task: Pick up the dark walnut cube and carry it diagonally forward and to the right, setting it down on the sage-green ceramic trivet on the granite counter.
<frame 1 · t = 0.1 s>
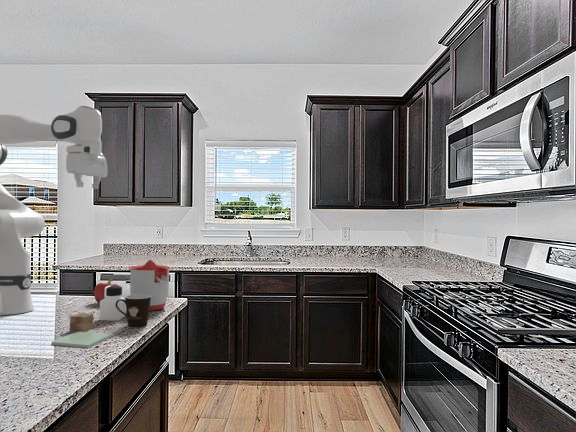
hand: (87, 187, 168), 48 cm above the worktop, tool pointing down, fingers open, 8 cm apart
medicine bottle: (112, 318, 166), on the worktop
citrus juicer: (150, 309, 184), on the worktop
vegetable: (107, 303, 193), on the worktop
trivet: (82, 340, 138), on the worktop
walnut cube: (81, 330, 150), on the worktop
coffee mug: (134, 325, 158), on the worktop
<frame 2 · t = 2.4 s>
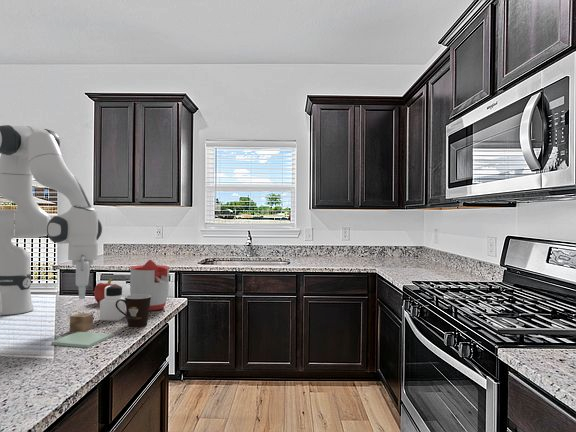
hand: (82, 296, 149), 11 cm above the worktop, tool pointing down, fingers open, 8 cm apart
nothing on the worktop moved.
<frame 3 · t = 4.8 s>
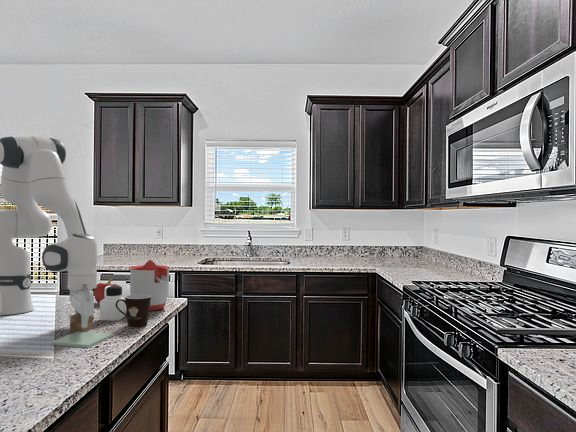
hand: (81, 324, 150), 2 cm above the worktop, tool pointing down, fingers closed on walnut cube, 7 cm apart
walnut cube: (81, 329, 150), on the worktop, touching gripper
everything else where it was.
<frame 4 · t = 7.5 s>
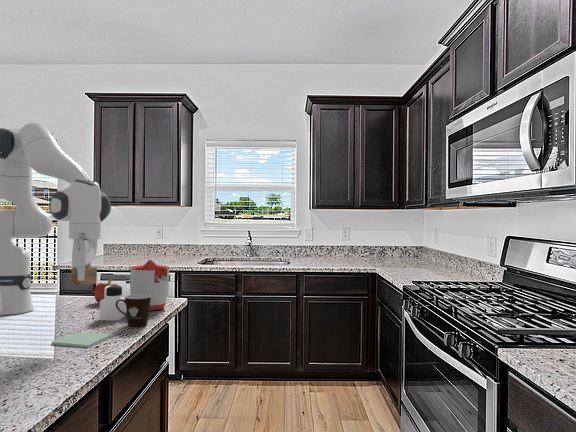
hand: (83, 278, 137), 19 cm above the worktop, tool pointing down, fingers closed on walnut cube, 7 cm apart
walnut cube: (84, 283, 138), point 17 cm above the worktop, touching gripper
everything else where it was.
when the fingers open (4 cm above the worktop, at t = 10.4 s): walnut cube drops 1 cm, resting on trivet.
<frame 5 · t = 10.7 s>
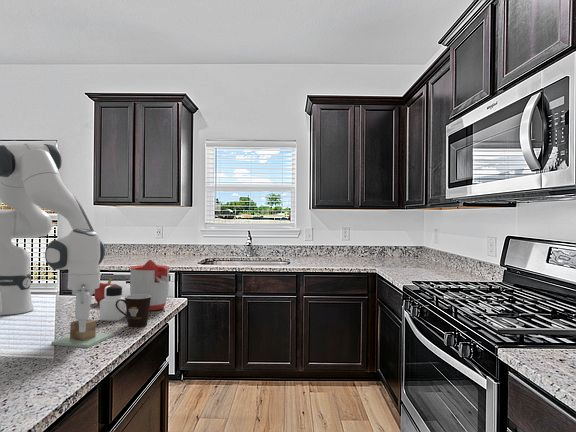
hand: (82, 327, 138), 4 cm above the worktop, tool pointing down, fingers open, 8 cm apart
walnut cube: (82, 337, 138), point 1 cm above the worktop, touching trivet
everything else where it was.
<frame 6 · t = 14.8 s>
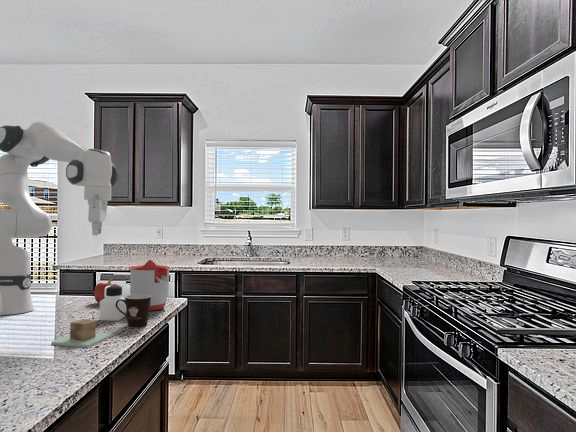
hand: (96, 234, 159), 31 cm above the worktop, tool pointing down, fingers open, 8 cm apart
nothing on the worktop moved.
at the end: walnut cube inside the target area on the trivet (0.1 cm from its centre), point 0.8 cm above the trivet's base; walnut cube tilted 0°; the gripper is holding nothing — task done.
